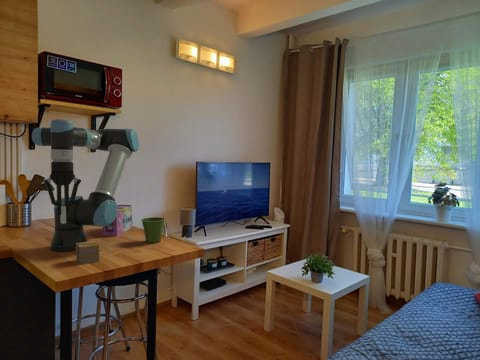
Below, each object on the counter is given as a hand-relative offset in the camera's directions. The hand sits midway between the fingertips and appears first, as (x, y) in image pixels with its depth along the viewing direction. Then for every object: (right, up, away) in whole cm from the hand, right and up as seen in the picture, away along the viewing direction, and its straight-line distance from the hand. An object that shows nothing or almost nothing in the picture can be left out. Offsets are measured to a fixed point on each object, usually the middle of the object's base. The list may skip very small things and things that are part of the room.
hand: (63, 222), depth 132 cm
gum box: (0, -13, +60) cm, 62 cm away
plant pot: (+25, -14, +39) cm, 48 cm away
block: (+7, -16, +6) cm, 18 cm away
